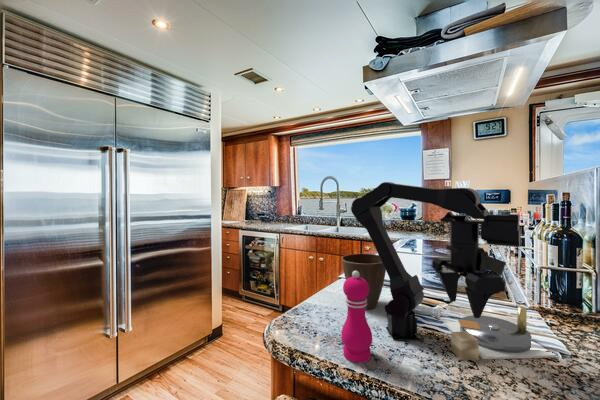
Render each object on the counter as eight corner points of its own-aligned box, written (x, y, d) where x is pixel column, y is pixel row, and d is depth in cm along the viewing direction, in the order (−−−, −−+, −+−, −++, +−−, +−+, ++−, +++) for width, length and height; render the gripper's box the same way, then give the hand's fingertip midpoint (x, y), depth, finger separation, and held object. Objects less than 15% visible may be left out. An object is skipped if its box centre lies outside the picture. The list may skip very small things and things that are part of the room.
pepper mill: (338, 347, 69) (337, 267, 69) (366, 345, 70) (365, 266, 69) (345, 365, 62) (344, 276, 62) (377, 363, 63) (376, 274, 62)
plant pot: (342, 313, 89) (341, 263, 89) (342, 296, 104) (341, 253, 103) (391, 315, 87) (390, 264, 86) (384, 297, 101) (383, 253, 101)
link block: (461, 360, 63) (460, 340, 63) (451, 350, 67) (451, 331, 67) (478, 359, 63) (478, 340, 63) (467, 350, 67) (467, 331, 67)
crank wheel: (543, 357, 62) (543, 321, 62) (465, 345, 68) (465, 312, 67) (517, 326, 77) (517, 297, 76) (454, 319, 82) (454, 291, 82)
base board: (483, 359, 63) (483, 357, 63) (443, 324, 80) (443, 322, 80) (556, 357, 64) (556, 355, 64) (501, 322, 81) (501, 321, 81)
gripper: (532, 249, 56) (532, 327, 56) (473, 235, 74) (473, 293, 75) (477, 250, 55) (477, 328, 56) (431, 236, 74) (431, 294, 74)
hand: (464, 309), depth 65 cm, fingers open, 9 cm apart
